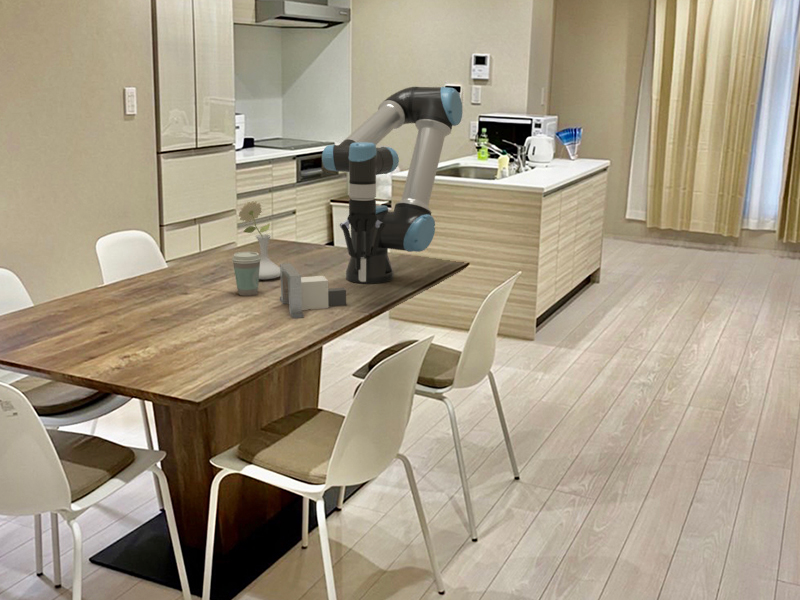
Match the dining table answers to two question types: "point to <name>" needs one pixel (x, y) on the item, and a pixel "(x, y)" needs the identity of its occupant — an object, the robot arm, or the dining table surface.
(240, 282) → the coffee cup
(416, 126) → the robot arm
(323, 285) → the plug
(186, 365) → the dining table surface
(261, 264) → the flower in vase
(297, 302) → the bar
